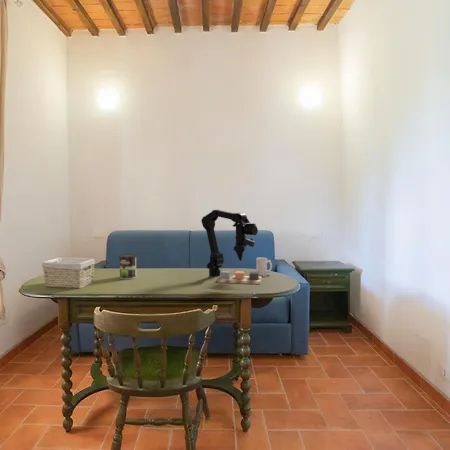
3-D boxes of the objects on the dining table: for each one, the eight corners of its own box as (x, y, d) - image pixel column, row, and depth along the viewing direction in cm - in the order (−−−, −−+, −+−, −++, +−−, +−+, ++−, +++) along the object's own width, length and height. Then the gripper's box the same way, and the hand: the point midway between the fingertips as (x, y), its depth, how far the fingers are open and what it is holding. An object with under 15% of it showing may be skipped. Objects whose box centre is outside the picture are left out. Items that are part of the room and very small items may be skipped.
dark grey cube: (249, 282, 188) (249, 273, 188) (250, 279, 193) (250, 271, 193) (258, 282, 188) (258, 273, 187) (258, 280, 192) (258, 271, 192)
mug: (256, 278, 204) (257, 259, 203) (255, 275, 211) (255, 257, 210) (272, 278, 204) (273, 259, 203) (271, 275, 211) (271, 257, 210)
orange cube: (234, 281, 190) (235, 272, 189) (236, 279, 195) (236, 271, 194) (243, 281, 189) (243, 273, 189) (244, 279, 194) (244, 271, 194)
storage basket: (96, 282, 194) (96, 257, 193) (80, 289, 178) (80, 263, 177) (60, 280, 198) (59, 256, 196) (41, 287, 182) (40, 261, 180)
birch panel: (217, 284, 188) (217, 279, 188) (220, 279, 200) (220, 274, 200) (260, 286, 184) (260, 281, 184) (261, 281, 196) (261, 276, 196)
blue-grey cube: (220, 280, 191) (220, 272, 191) (222, 278, 196) (222, 270, 196) (229, 281, 190) (229, 272, 190) (230, 279, 195) (230, 270, 195)
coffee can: (131, 279, 200) (131, 257, 199) (116, 278, 202) (116, 256, 201) (139, 276, 210) (139, 254, 209) (125, 275, 212) (124, 253, 211)
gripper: (253, 236, 181) (253, 263, 182) (254, 233, 199) (254, 258, 200) (233, 236, 182) (233, 263, 184) (236, 232, 201) (237, 257, 202)
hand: (240, 260), depth 192 cm, fingers closed
